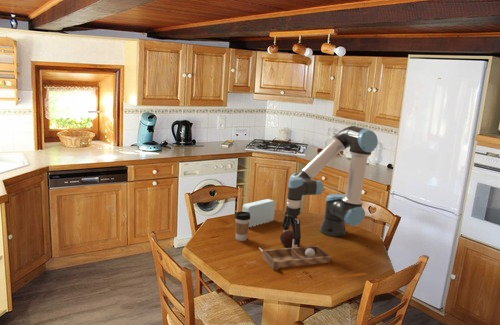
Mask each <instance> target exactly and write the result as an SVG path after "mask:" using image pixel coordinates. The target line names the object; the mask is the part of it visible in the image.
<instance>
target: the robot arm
mask: <svg viewBox="0 0 500 325" xmlns="http://www.w3.org/2000/svg"><path fill="white" fill-rule="evenodd" d="M378 140H379V139H378V137H377V134H376V133H375V132H374V131H373V130H370V129H368V128H365V127H364V128H363V127H359V126H357V125H351V126H347V127H345V128H343V129H341V130H340V131H339V132H338V133H336V134H335V135H334V136H333V137H332V138H331V141H330V142H329V143H328V144H327V145H326V146H325V147H324V148H323V149H322V150H321V151H320V152H319V153H318V154H317V155H315V157H314V158H312V159H311V160H310V161H309V162H308V163H307V164H306V165H305V166H304V167H303V168H302V169H301V170H300V171H298V172H294V173H292V174H291V175H290V177H289V179H288V185H287V197H286V198H287V199H286V201H285V202H286V207H285V212H284V217H283V220H282V225H281V228H282V230H283V232H285V231H290V226H291V227H292V228H291V229H292V231H293V235H294V238H293V243H292V248H294V247H297V246H298V239H300V240H301V238H302V237H301V236H302V234H301V219H298V216H299V215H300V214H301V210H302V208H301V207H302V198H303V196H316V195H317V196H318V195H322V192H323V191H324V184H323V182H322V181H321V180H316V179H315V180H313V179H314V177H316V176H317V175H318V173H320V171H322V170H323V169H324V168H325V167H326V166H327V165H328V164H329V163H330V162H331V161H332V160H333V159H334V158H335V157H336V156H337V155H338V154H339V153H340V152H342V151H345V150H346V149H347V148H349V153H350V154H351V159H350V163H349V169H348V175H347V181H346V182H347V183H346V188H345V193H344V194H339V193H337V194H336V193H329V194H328V195H326V198H325V199H326V200H325V207H324V208H325V209H324V215H323V220H322V222H321V224H320V226H319V232H320V233H322V234H323V235H325V236H328V237H329V236H330V237H336V238H337V237H344V236H345V235H346V232H347V230H346V225H348V226H351V227H356V226H358V225H360V224H361V223H362V222H363V221H364V219H365V216H366V211H365V209H364V208H363V201H362V199H361V198H362V191H363V187H364V180H365V176H366V175H365V173H366V168H367V162H368V158H369V157H370V156H371V155H372V153H373V151H375V149H376V148H377V146H378V144H379V143H378ZM298 247H299V246H298Z"/></svg>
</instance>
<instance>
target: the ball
mask: <svg viewBox="0 0 500 325" xmlns="http://www.w3.org/2000/svg"><path fill="white" fill-rule="evenodd" d="M305 255H306V257H308V258H313V257H314V255H315V251H314V250H313V249H312V248H308V249H306V251H305Z"/></svg>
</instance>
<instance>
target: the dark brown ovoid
mask: <svg viewBox="0 0 500 325" xmlns="http://www.w3.org/2000/svg"><path fill="white" fill-rule="evenodd" d="M293 238H294V235H293V230H289V231H285V232H284V231H283V232H282V233H281V234H280V236H279V239H280V242H281V243H282V245H284V246H285V248H292V243H293ZM300 244H301V239H298V246H297V247H300Z"/></svg>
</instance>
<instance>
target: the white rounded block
mask: <svg viewBox="0 0 500 325" xmlns="http://www.w3.org/2000/svg"><path fill="white" fill-rule="evenodd" d="M275 208H276V201H275V200H273V199H271V198H266V199H261V200H257V201H253V202H248V203H243V205H242V210H241V212H249V213H250V219H249V227H250V228H253V227H256V225H257V226H260V225H263V223H264V224H267V223H270V221H271V222H273V221H274V220H275V211H276V209H275ZM259 224H260V225H259ZM252 226H253V227H252ZM249 227H248V229H249Z"/></svg>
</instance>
